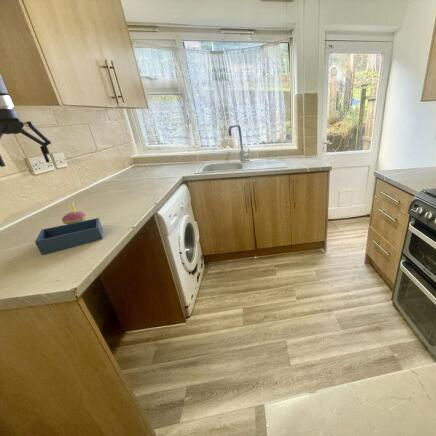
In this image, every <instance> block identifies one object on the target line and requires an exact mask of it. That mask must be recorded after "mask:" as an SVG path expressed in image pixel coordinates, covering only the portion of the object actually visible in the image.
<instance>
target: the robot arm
mask: <svg viewBox="0 0 436 436" xmlns="http://www.w3.org/2000/svg"><path fill="white" fill-rule="evenodd" d="M1 75H2V74H0V139H1V138H2V137H3V135H19V134H22V135H23V136H25V137H27V138H28V139H30V140H32V141H33V142H35V143H37V144H38V145H40V147H39V148H40V151H41V153H42V155H43V158H44V160H45V163H50V162H51V159H50V158H49V155H50V150H49V147H48V145H52V140H50V139H49V138H48V137H47V136H46V135H44V134H43V132H41V131H40V130H39V129H38V128H37V127H36V126H35V125H34V123H33V121H31V120H30V121H28V120H27V121H24V122H23V121H22V120H21V118H20V116H19V114H18V112H17V110H16V108H15V105H14V103H13V100H12V98H11V96H10V94H9V92H8V89H7V87H6V84H5V82H4V80H3V77H2V76H1ZM24 126H26V127H27V128H30V130H31V131H32V132H33V133H34V134H36V135H37V136H38V137H39V138H38V137H37V136H34V135H33V134H31V133H30V132H28V131H27V130H26V129H23V128H24ZM4 167H6V163H5V162H4V159H3V158H2V155H1V154H0V168H4Z"/></svg>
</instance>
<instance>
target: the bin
mask: <svg viewBox="0 0 436 436" xmlns="http://www.w3.org/2000/svg"><path fill="white" fill-rule="evenodd" d="M103 231H104V228H103V225H102V223H101V220H100V218H99V217H96V218H92V219H91V218H90V219H87V220H86V219H85V221H81V222H76V223H71V224H63V225H62V224H61V225H57V226H53V227H52V226H51V227H48V228H43V229H40V232H39V233H38V235H37V237H36V239H35V240H34V243H35V245H36V246H37V249H38V251H39V252H40V255H46V254H51V253H55V252H57V251H63V250H67V249H71V248H75V247H79V246H83V245H86V244H91V243H94V242H98V241H102V240H103V239H104V238H103V237H104V235H103V234H104V232H103Z"/></svg>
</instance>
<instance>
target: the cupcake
mask: <svg viewBox="0 0 436 436" xmlns="http://www.w3.org/2000/svg"><path fill="white" fill-rule="evenodd" d="M70 204H71V207H72V210H73V211H70V212H68V213H67V214H65V215H63V217H62V218H61V221H62V223H63V225H67V224H71V223H76V222H81V221H86V218H88V217H87V214H86V213H85V212H82V211H77V210H76V208H75V204H74V202H73V201H71V203H70Z"/></svg>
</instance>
